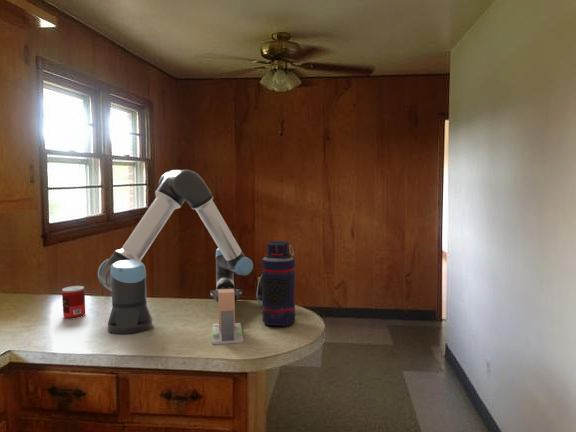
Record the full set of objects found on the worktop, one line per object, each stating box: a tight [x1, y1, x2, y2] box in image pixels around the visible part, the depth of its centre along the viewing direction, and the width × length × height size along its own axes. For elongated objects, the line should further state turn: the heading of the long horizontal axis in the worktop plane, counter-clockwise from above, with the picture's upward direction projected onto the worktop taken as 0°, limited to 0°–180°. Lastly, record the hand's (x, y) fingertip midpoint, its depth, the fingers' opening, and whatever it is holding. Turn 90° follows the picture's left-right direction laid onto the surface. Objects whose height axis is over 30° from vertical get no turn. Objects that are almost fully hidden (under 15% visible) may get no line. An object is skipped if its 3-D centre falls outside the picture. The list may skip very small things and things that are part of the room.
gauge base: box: [211, 324, 244, 345], centre depth 157 cm, size 10×15×2 cm, turn 9°
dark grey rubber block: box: [221, 311, 234, 341], centre depth 151 cm, size 4×3×9 cm
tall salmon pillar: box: [212, 289, 242, 330], centre depth 162 cm, size 10×5×13 cm, turn 99°
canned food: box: [61, 285, 86, 320], centre depth 180 cm, size 8×8×11 cm
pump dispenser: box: [255, 274, 262, 307], centre depth 192 cm, size 10×10×15 cm
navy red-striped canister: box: [261, 240, 296, 329], centre depth 169 cm, size 14×12×30 cm
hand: (227, 303), depth 171 cm, fingers closed
